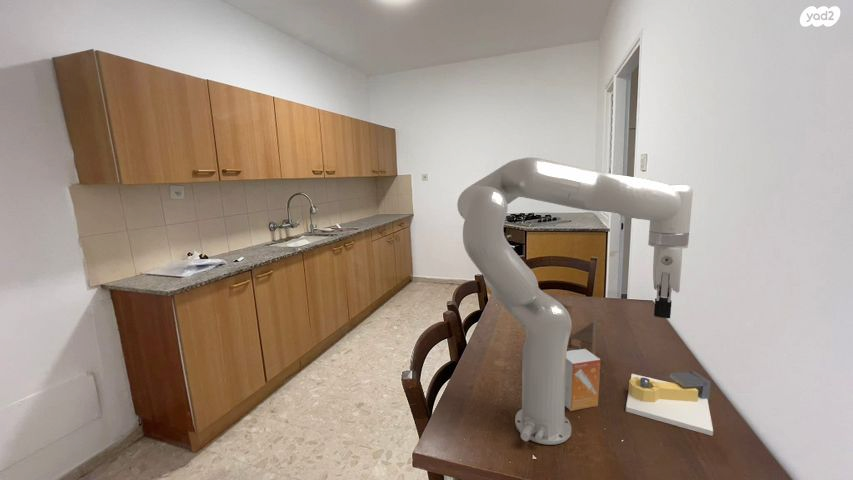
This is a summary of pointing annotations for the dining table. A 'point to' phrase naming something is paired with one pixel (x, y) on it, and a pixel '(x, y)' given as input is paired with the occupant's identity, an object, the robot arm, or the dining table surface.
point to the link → (661, 391)
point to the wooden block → (582, 333)
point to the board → (674, 411)
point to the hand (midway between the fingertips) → (661, 316)
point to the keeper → (693, 382)
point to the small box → (581, 379)
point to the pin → (644, 383)
